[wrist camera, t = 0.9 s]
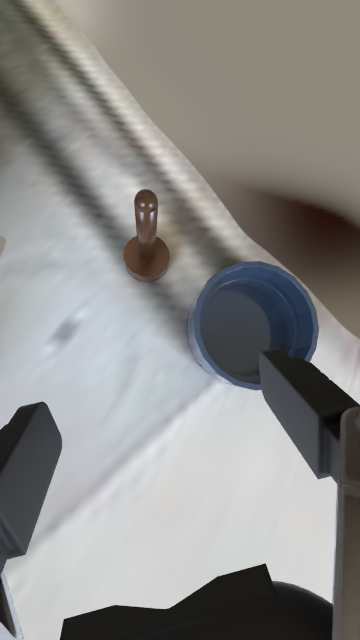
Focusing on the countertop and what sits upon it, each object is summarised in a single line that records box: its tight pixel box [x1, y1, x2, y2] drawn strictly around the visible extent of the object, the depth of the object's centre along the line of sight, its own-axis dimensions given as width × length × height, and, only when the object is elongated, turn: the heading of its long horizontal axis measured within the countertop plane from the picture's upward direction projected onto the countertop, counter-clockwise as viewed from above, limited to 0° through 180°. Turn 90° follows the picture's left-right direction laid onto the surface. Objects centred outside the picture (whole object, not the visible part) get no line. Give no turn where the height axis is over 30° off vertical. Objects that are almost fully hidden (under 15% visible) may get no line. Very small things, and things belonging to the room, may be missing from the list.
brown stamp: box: [124, 189, 169, 282], centre depth 26 cm, size 5×5×13 cm
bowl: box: [187, 261, 319, 390], centre depth 30 cm, size 13×13×6 cm
